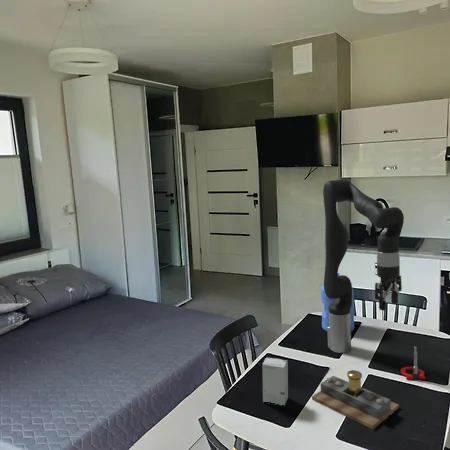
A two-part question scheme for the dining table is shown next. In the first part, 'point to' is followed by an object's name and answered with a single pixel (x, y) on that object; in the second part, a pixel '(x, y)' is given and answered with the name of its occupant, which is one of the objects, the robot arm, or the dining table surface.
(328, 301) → the water jug
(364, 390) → the board
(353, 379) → the pin
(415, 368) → the tow hook
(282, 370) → the skincare box
